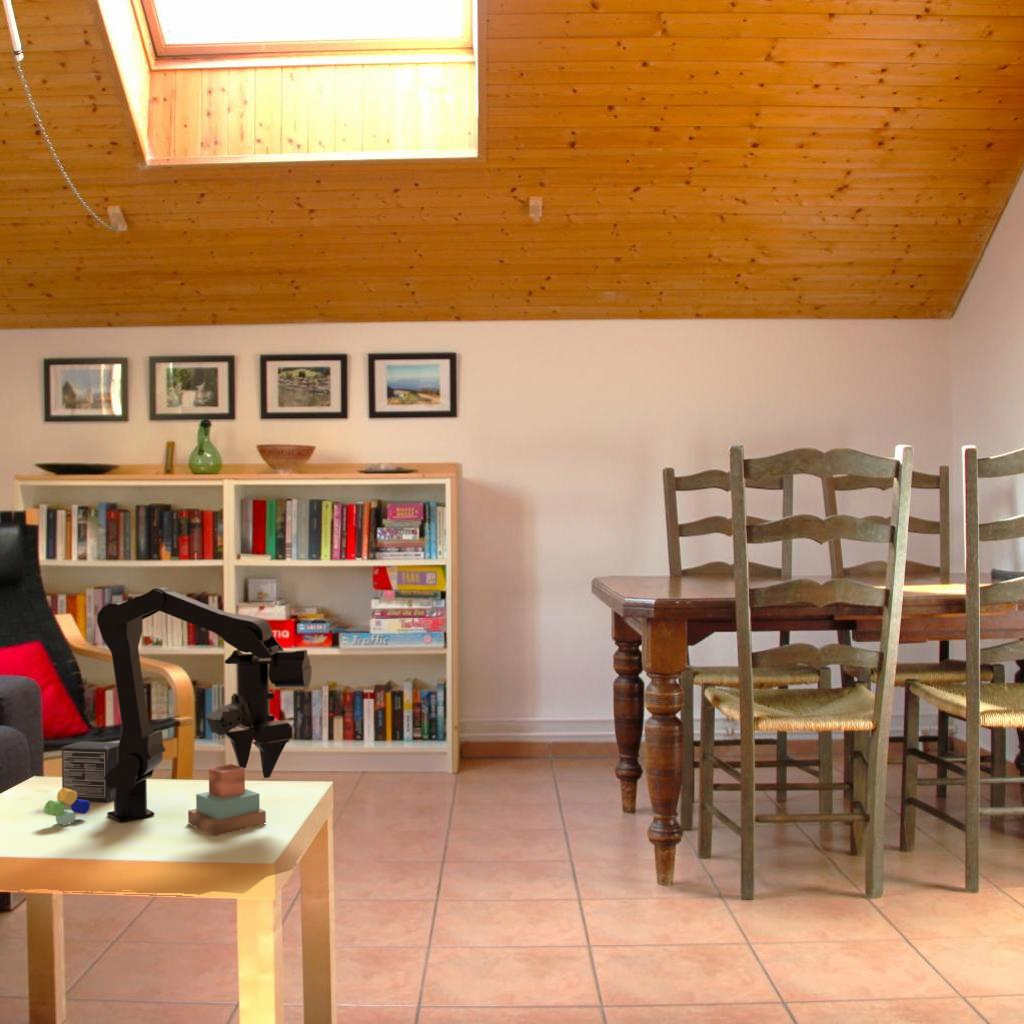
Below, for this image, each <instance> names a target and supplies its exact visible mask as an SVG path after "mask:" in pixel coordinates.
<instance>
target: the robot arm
mask: <svg viewBox="0 0 1024 1024" xmlns="http://www.w3.org/2000/svg"><path fill="white" fill-rule="evenodd" d="M159 612H162V613H164V614H166V615H168V616H171V617H174V618H176V619H179V620H182V621H184V622H186V623H189V624H191V625H194V626H197V627H199V628H201V629H204V630H207V631H210V632H212V633H213V634H216V635H217V636H218V637H220V638H221V639H222V640H223V641H224V642H225V643H227V644H228V645H230V646H232V647H233V648H235V649H236V650H233V651H232V653H231V654H230V656H229V657H227V658H226V659H225V660H224V663H225V665H236V692H234V693H232V695H231V701H230V703H227V704H226V705H223V706H220V708H218V709H216V710H214V711H211V712H210V713H208V714H207V715H206V716H205V719H206V722H207V725H208V727H209V729H210V733H211V734H212V733H213V734H214V733H215V734H217V735H218V736H224V737H225V738H227V739H229V741H230V743H231V747H232V749H233V752H234V756H235V758H236V762H237V764H238V765H237V766H239V767H243V768H245V769H246V768H247V765H248V762H249V758H250V754H251V750H252V745H254V746H255V747H256V748H257V749H258V750H259V754H260V762H261V769H262V770H261V771H262V776H263V778H265V779H268V778H270V777H271V775H272V773H273V771H274V769H275V767H276V764H277V762H278V761H279V760H278V759H279V757H280V755H281V753H282V751H283V750H284V748H285V746H286V744H287V743H289V742H290V739H294V727H293V726H292V724H290V723H289V722H286V721H283V720H279V719H278V720H275V715H274V714H272V713H270V709H271V708H270V700H272V699H274V697H275V694H274V692H272V691H270V683H271V685H274V687H276V688H279V689H280V688H281V689H282V688H283V689H284V688H286V689H287V688H289V689H290V688H298V689H300V688H306V689H307V688H309V686H310V684H311V680H312V673H313V672H312V671H313V670H312V665H311V660H310V657H308V650H307V649H298V650H284V649H283V647H282V646H281V644H280V643H279V642H278V640H277V639H276V638H275V636H274V635H273V631H272V627H271V625H270V623H269V622H268V621H267V620H265V619H264V618H261V617H258V616H251V615H248V614H239V613H233V612H226V611H224V610H222V609H219V608H217V607H214V606H211V605H209V604H206V603H203V602H201V601H199V600H196V599H194V598H192V597H188V596H186V595H183V594H181V593H179V592H177V591H174V590H173V589H171V588H169V587H165V586H163V587H159V588H153V589H151V590H149V592H145V593H143V594H141V595H139V596H136V597H135V598H132V599H129V600H122V601H116V602H112V603H111V602H110V603H108V604H105V605H104V606H102V608H101V609H100V610H99V611H98V612H97V614H96V624H97V627H98V629H99V632H100V636H101V639H102V640H103V643H105V645H106V647H107V648H108V650H109V651H110V653H111V659H112V660H111V661H112V666H113V673H114V679H115V680H114V682H115V686H116V695H117V701H118V709H119V715H120V722H121V728H122V729H121V734H120V737H119V740H118V743H119V745H118V764H117V765H116V766H115V767H114V768H113V769H112V770H111V771H110V772H109V773H108V774H107V775H106V776H105V781H106V784H107V787H108V788H114V799H113V811H109V812H106V815H107V816H108V817H109V818H111V819H113V820H115V821H117V822H118V823H123V822H129V821H132V820H137V819H143V818H147V817H151V816H155V812H154V811H153V810H150V809H148V791H147V789H148V784H147V779H149V778H151V777H153V774H154V771H155V769H156V768H157V767H159V766H160V764H161V762H162V761H163V754H164V752H166V748H165V746H164V743H163V731H162V730H161V729H160V730H157V731H155V730H154V729H153V727H152V726H151V724H150V721H149V716H148V715H149V714H148V710H147V709H148V707H147V700H146V693H145V687H144V681H143V680H144V679H143V673H142V666H141V660H140V653H139V652H140V651H139V645H140V641H141V638H142V633H143V620H144V619H146V618H149V617H151V616H154V615H155V614H157V613H159Z"/></svg>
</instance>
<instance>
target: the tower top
mask: <svg viewBox="0 0 1024 1024" xmlns="http://www.w3.org/2000/svg"><path fill="white" fill-rule="evenodd" d="M195 797H196V798H195V799H196V801H195V802H196V803H195V804H196V805H195V809H196V811H198V812H200V813H203V814H205V815H208V816H210V817H213V818H216V819H218V820H221V819H225V818H230V817H234V816H238V815H242V814H246V813H251V812H255V811H259V809H260V793H258V792H256V791H252V790H249V789H247V788H245V793H242V794H238V795H234V796H230V797H226V798H221V797H217V796H214V795H211V794H209V791H205V792H201V793H200V792H199V793H196V794H195Z"/></svg>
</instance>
